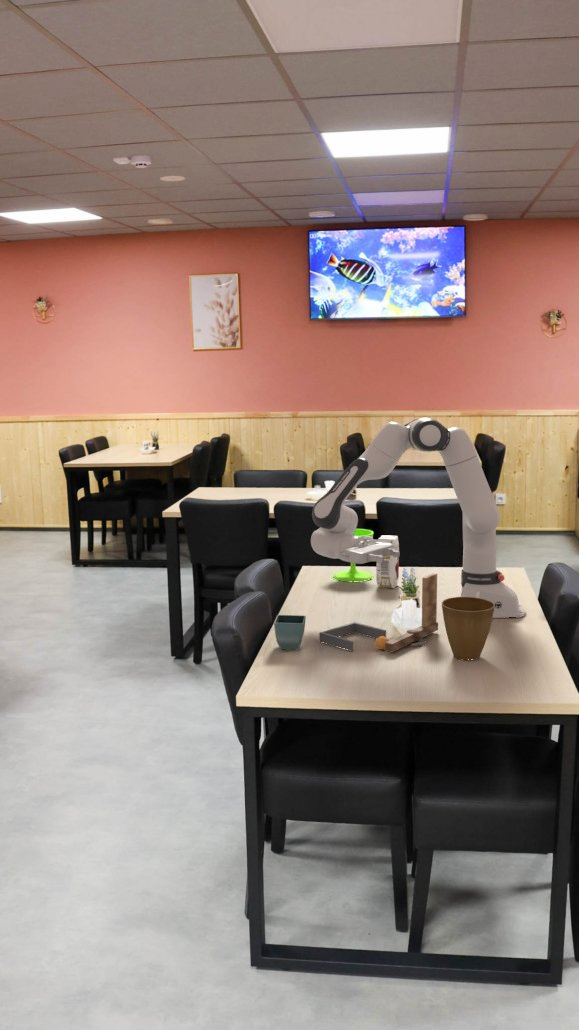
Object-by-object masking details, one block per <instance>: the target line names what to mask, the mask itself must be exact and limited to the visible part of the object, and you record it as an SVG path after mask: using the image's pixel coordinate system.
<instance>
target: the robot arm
mask: <svg viewBox="0 0 579 1030" xmlns="http://www.w3.org/2000/svg"><path fill="white" fill-rule="evenodd" d="M409 449H414V450H417V451H420V452H427V453H429V452H438V453H439V455H440V456H441V458H442V461H443V464H444V466H445V469H446V473H447V474H448V478H449V480H450V482H451V486H452V488H453V491H454V493H455V495H456V498H457V501H458V503H459V506H460V508H461V509H460V510H461V511H462V545H463V546H462V547H463V549H462V550H463V552H462V553H463V555H462V569H461V573H460V574H461V575H460V577H461V578H460V584H461V592H460V597H475V598H481V599H485V600H488V601H491V602H493V603H494V605H495V606H494V612H493V617H492V619H503V618H504V619H507V618H508V619H509V617H516V618H523V617H524V616H526V608H525V607H524V606H522V605H520V601H519V597H518V595H517V593H516V592H515V591H514V590H513V589H512V588H511V587H509V586H508V585H506V584H505V583H504V582H503V581H504V580H505V579H506V578H505V575H504V574H503V573H502V572H501V571H500V570H499V571H498V570H497V560H498V559H497V558H498V557H497V553H498V551H497V549H498V546H497V531H496V529H497V527H498V525H499V523H500V520H501V514H500V510H499V508H498V505H497V502H496V499H495V498H494V496H493V495H494V494H493V492H492V490H491V488H490V485H489V483H488V480H487V478H486V475H485V472H484V469H483V468H482V464H481V461H480V458H479V456H478V454H477V450H476V448H475V446H474V444H473V442H472V440H471V438H470V436H469V435H468V433H467V431H466V430H465V429H464V428H462V427H459V426H458V427H457V426H456V427H450V428H447V427H446V426H444V425H443V424H442V423H441V422H440V421H438V420H437V419H434V418H431V417H426V416H425V417H419V418H416V419H413V420H411V421H410V422H408V423H406V424H404V425H403V424H401V423H399V422H396V421H389V422H387V423H386V424H384V426H382V427H381V429H380V430H379V431H378V432H377V433H376V435H375V436H374V437H373V439H372V440H371V441H370V443H369V445H368V446H367V448H366V449H365V451H364V452H363V453H362V454H360V456H359V457H358V458H357V459H354V460H353V461H352V462H351V463H350V464H349V465H348V467H347V468H345V470H344V471H343V472H342V474H341V475H340V476H339V478H337V480H336V481H335V482H334V484H333V485H332V486H331V488H330V489H329V490H328V491H327V492H326V493H325V494H323V496H321V498H319V499H318V500H317V501H316V502H315V503H314V505H313V506H312V507H313V508H312V513H311V516H312V517H311V518H312V521H313V523H314V524H315V526H316V527H319V528H318V529H316V530H313V532H312V534H311V537H310V545H311V548H312V550H313V551H314V552H315V553H316V554H317V555H319V556H322V557H326V558H329V559H333V560H334V559H339V560H341V561H343V562H347V563H351V562H352V563H355V564H358V565H363V564H366V563H369V562H370V563H371V562H376V563H377V562H382V561H384V557H387V556H392V557H399V558H400V554H401V553H400V550H399V551H395V550H394V545H393V544H391V543H388V542H384V541H381V540H378V539H374V536H373V537H369V536H368V537H367V536H366V537H361V536H354V533H355V530H356V529H358V528H357V527H358V526H359V525H358V524H359V517H358V514H357V512H356V511H355V510H354V509H353V508H350V507H349V506H347V505H344V503H345V501H347V499H348V498H349V496H350V495H351V494H352V493H353V492H354V490H355V488H356V487H357V486H358V485H360V484H361V483H363V482H365V481H368V480H381V479H385V478H386V477H388V476H389V475H390V474H391V473H392V471H393V470H394V469H395V467H396V465H397V464H398V462H399V461H400V460H401V457H402V456H403V454H405V452H406V451H408V450H409ZM522 616H523V617H522Z"/></svg>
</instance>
